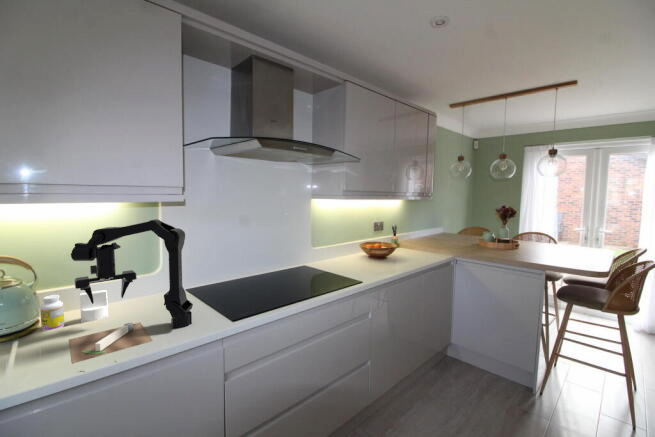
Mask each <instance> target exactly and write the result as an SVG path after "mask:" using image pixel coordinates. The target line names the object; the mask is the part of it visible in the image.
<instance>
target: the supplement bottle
mask: <svg viewBox="0 0 655 437" xmlns="http://www.w3.org/2000/svg"><path fill="white" fill-rule="evenodd" d="M42 301H43V304H41V306H40V324H41V330H42V332H47V331H51V330H56V329H57V330H58V329H61V328H64V326H65V316H64V315H65V313H64V312H65V311H64V302H63V301H61V300H60V294H50V295H47V296H44V297H43V298H42Z"/></svg>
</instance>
